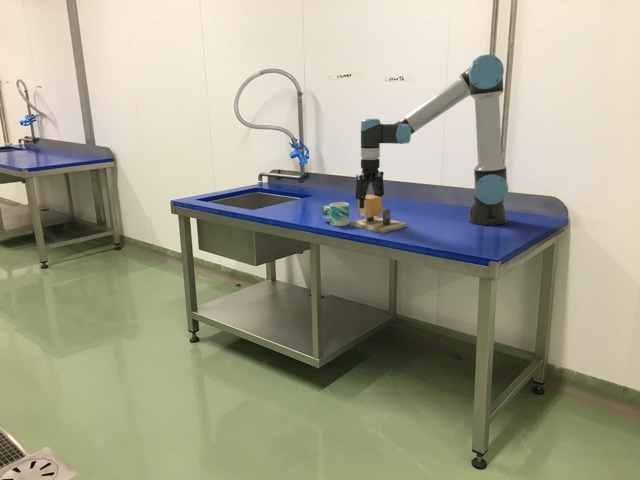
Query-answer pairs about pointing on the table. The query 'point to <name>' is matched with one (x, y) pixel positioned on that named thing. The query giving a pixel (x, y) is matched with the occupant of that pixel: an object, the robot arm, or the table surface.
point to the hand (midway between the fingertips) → (369, 214)
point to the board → (379, 223)
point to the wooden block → (372, 206)
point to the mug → (337, 213)
